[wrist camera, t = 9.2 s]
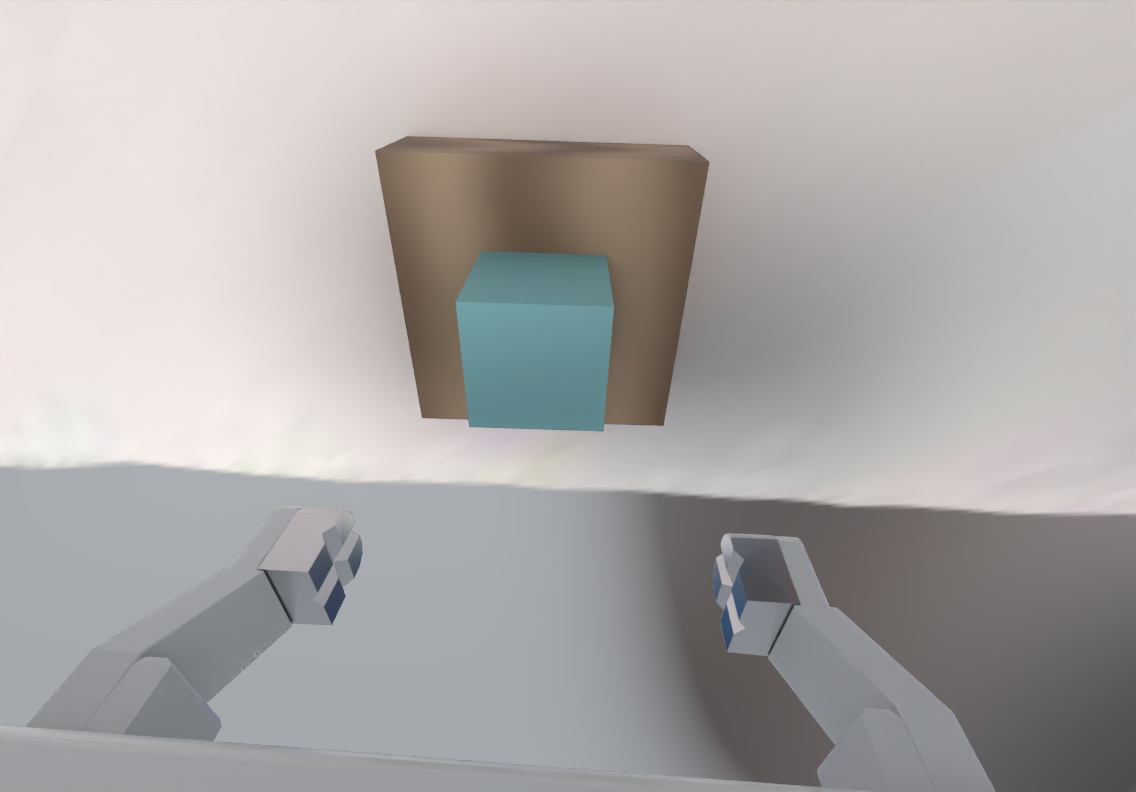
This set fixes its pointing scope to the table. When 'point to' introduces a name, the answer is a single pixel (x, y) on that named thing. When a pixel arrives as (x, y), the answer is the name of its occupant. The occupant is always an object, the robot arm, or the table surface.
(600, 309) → the teal cube
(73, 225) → the table surface
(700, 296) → the table surface
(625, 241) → the base block
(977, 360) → the table surface
